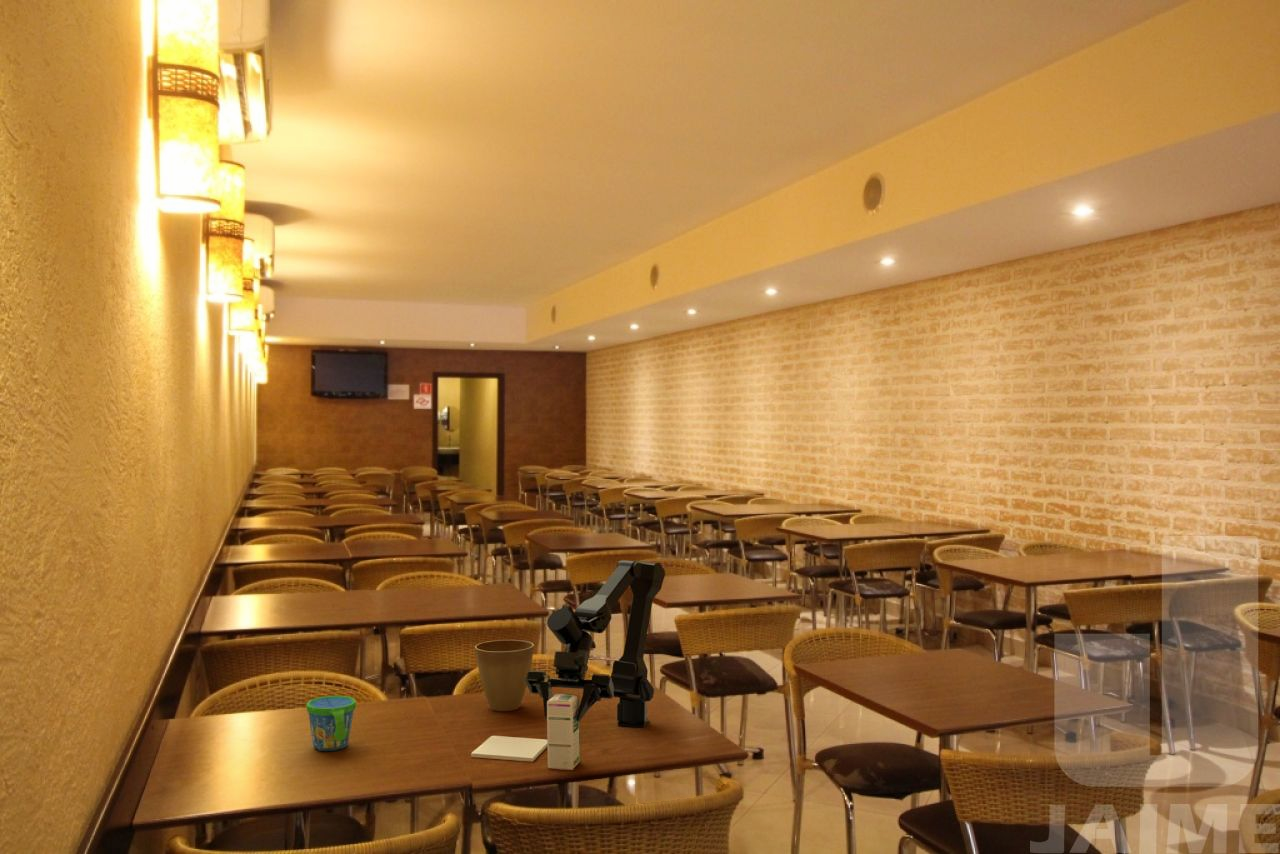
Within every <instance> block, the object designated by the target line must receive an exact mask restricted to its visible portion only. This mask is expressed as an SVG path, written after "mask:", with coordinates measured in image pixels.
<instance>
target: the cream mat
mask: <svg viewBox="0 0 1280 854" xmlns="http://www.w3.org/2000/svg"><path fill="white" fill-rule="evenodd" d="M546 749H547V738H546V739H542V738H532V737H531V738H529V737H518V736H517V737H516V736H515V737H514V736H502V735H491V736H490V737H488V738H487V739H486V740H485V741H484V742H482V743H481V745H479V746H478V747H477V748H476V749H474V750H473V751H472V752H471V753H470V757H471V758H477V759H478V758H481V759H491V760H492V759H493V760H505V761H506V760H507V761H519V762H531V763H533V762H534V761H535V760H536V759H537V758H538V757H539V756H540V755H542V753H543V752H544V751H545V750H546Z"/></svg>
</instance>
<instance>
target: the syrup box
mask: <svg viewBox="0 0 1280 854" xmlns="http://www.w3.org/2000/svg"><path fill="white" fill-rule="evenodd" d="M579 706H580V695H577V694H572V693H555V694H554V695H553V697H552V698H550V699H549V700H548V701H547V719H546V728H547V729H546V733H547V734H546V736H547V737H546V740H547V747H546V749H547V752H546V754H547V758H546V759H547V769H554V770H566V771H567V770H570V771H573V770H574V768H575V767H576V766H577V765H578V764H579V763H580V762H581V741H580V739H581V729H580V725H581V720H580V721H579V722H578V721H577V713H578V709H579Z"/></svg>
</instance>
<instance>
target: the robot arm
mask: <svg viewBox="0 0 1280 854" xmlns="http://www.w3.org/2000/svg"><path fill="white" fill-rule="evenodd" d="M665 576H666V571H665V568H664V567H663V565H662V564H661V563H660V562H656V561H655V562H653V561H644V560H642V561H641V560H629V559H628V560H626V559H622V560H619V561H618V562H617V565H616V568H615V570H613V572H612V574H611V575H610V576H609V577H608V578H607V580H606V581H605V583H603V585H602V586H601V588H600V589H599V590H598V591H597V593H596V594H595V595H594V596H593V597H590V598H588V599H585V600H584V601H583V602H582V603H581V604H579V606H577V607H576V609H575V610H574V609H573V608H572V606H571V605H567V604H563V605H562V606H561V608H559V609H557V610H555V611H554V612H552V613H551V614H550V615H548V617H547V620H546V625H547V627H548V629H549V630H550V631H551V633H552V634H553V635H554V637H556V639H557V641H558V642H559V643H560V644H562V645H565V647H564V649H563V651H558V650H557V651H555V652H554V657H553V665H552V667H553V668H555V675H557V677H551V676H548V674H547V672H546V670H537V669H536V670H535V669H530V671H529V672H528V673H527V675H526V678H525V681H526V683H527V686H526V687H527V688H528V690H529V693H531V694H533V695H538V696H539V697H540V698H542V702H543V710H544V718H545V720H547V701H548V700H549V699H550V698H552V697H553V696H554V695H553V692H552V688H562V689H577V690H583V691H582V697H581V700H580V702H579V709H578V713H577V721H578V722H579V721H580V722H581V720H582V718H583V717H584V716H585V715H586V713H588V711H589V709H591V707H593V705H594V704H596V703H597V702H601V701H602V699H607V700H608V699H612V698H619V702H618V703H617V706H616V707H617V709H616V711H617V712H616V715H617V717H616V720H617V726H620V727H621V726H622V727H635V728H644V727H645V726H646V725H647V723H648V722H649V717H648V702H651V701H652V699H653V698H654V695H655V689H654V687H653V685H652V684H651V683H650V681H649V680H648V672H649V671H648V668H647V665H646V661H645V659H644V655H645V650H646V644H647V643H646V642H647V637H648V631H649V624H650V619H651V613H652V607H653V601H654V599H655V597H657V595H658V594H659V592H661V590H662V587H663V583H664V580H665ZM629 588H630V591H631V593H632V600H631V606H630V613H629V618H628V624H627V625H628V626H627V630H626V636H625V641H624V642H625V643H624V647H623V648H624V649H623V654H622V655H621V657H620V658H619V659H618V660H614V661H613V663H612V669H611V674H607V673H606V674H605V673H592V674H591V675H592V676H591V679H585V678H586V674H587V672H588V670H589V666H588V664H589V659H590V654H591V649H596V643H595V641H594V640H593V636H592V635H591V634H590V633H594V634H602V633H604V632H605V631H606V630H607V628H608V626H609V625H610V622H611V620H612V610H613V609H614V607H615V606H616V604H617V603H618V601H619V600H620V599H621V598H622V596H623V595H624V593H625V592H626V590H628V589H629Z"/></svg>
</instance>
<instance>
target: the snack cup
mask: <svg viewBox="0 0 1280 854" xmlns="http://www.w3.org/2000/svg"><path fill="white" fill-rule="evenodd" d="M356 702H357V701H356V699H355V698H354V697H350V696H345V695H328V696H319V697H316V698H313V699H311V700H308V701H307V703H306V705H305V707H306V711H307V713H308V719H309V726H310V732H311V741H312V745H313V748H315V749H316V750H318V751H324V752H333V751H338V750H339V751H340V750H343V749H344V748H346V747H348V745H349V742H350V741H349V740H350V737H351V729H352V724H353V718H354V717H353V715H354V711H355V709H356V707H357V703H356Z"/></svg>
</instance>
